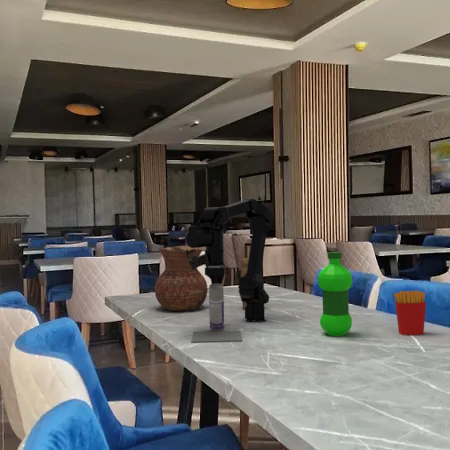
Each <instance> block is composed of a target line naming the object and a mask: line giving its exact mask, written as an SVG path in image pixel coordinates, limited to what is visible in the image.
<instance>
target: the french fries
mask: <svg viewBox="0 0 450 450" xmlns="http://www.w3.org/2000/svg"><path fill="white" fill-rule="evenodd" d="M425 295H426V292H425V291H419V290H418V289H416V290H405V291H403V290H400V291H399V292H394V293H393V296H394V299H395V302H394V305H395V311H396V320H397V328H398V334H400V335H402V336H419V335H424V332H425V323H426V322H425V321H426V311H427V310H426V309H427V302H426V301H425V298H426V297H425Z"/></svg>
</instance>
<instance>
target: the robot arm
mask: <svg viewBox="0 0 450 450" xmlns="http://www.w3.org/2000/svg"><path fill="white" fill-rule="evenodd" d="M242 214H244V215H245V218H247V219H248V221H249V224H248V226H249V228H250V230H251V233H252V234H251V241H250V247H249V248H250V249H249V253H248V254H249V255H248V258H249V260H248V267H247V273H246V274H245V276H244V277H242V276H241V275H240V277H239V283H238V286H237V288H238V293H239V296H240V300H241V303H243V302H246V306H245V307H244V308H245V309H244V308H243V309H244V320H246V322H265V321H266V318H265V317H266V316H265V304H266V305H267V304H268V303H269V301H270V296H269V294H268V293H267V291H266V290H265V283H264V280H263V278H262V275H261V274H262V269H263V268H262V267H263V262H264V261H263V259H264V255H265V254H264V252H265V247H266V239H267V235H268V233H269V232H270V231H271V229H273V223H274V221H275V220H274V219H275V215H274V213H273V212H272V210H271V209H269V208H268V207H267V206H265V205H264V204H261V203H260V202H258V200H256V199H254V198H244V199H242V200H239V201H237V202H233V203H231V204H228V205H225V206H218V207H217V206H216V207H215V206H212V207H205V208H203V210H202V213H201V216H200V218H199V219H198V222H197V223H196V225H190V230H188V232H187V233H186V236H185V243H186V246H189V247H191V248H199V247H201V248H205V250H204V254H200V256H197V255H195V256H192V259H190V260H189V264H190V266H191V269H192V270H194V269H196V268H197V269H198V268H199V267H202V266H204V275H205V276H207V277H208V278H209V280H210V282H211V284H213V283H219V284H223V280H224V277H225V274H226V270H225V269H226V265H225V256H224V255H225V254H224V252H225V251H224V250H225V248H224V233H225V232H226V233H227V232H228V229H227V228H226V226H225V224H227V222H229V221H230V219H231V218H233V217H236V216H238V215H242Z"/></svg>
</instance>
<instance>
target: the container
mask: <svg viewBox="0 0 450 450" xmlns="http://www.w3.org/2000/svg"><path fill="white" fill-rule="evenodd" d="M208 294H209V295H208V302H209V303H208V306H209V307H208V310H209V311H208V312H209V314H208V315H209V329H210V331H223V330H224V328H225V299H224V298H225V296H224V285H223V283H221V284H219V283H213V284H212V283H211V284H209V286H208Z"/></svg>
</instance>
